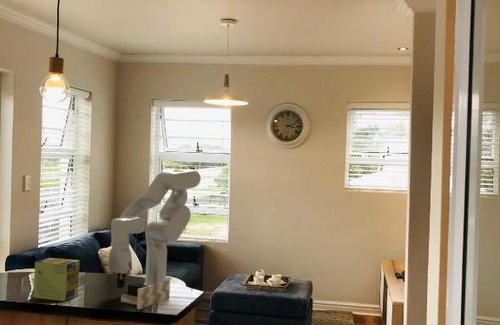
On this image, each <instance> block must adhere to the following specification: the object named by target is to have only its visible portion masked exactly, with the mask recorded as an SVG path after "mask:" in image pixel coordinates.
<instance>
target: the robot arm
mask: <svg viewBox="0 0 500 325" xmlns="http://www.w3.org/2000/svg"><path fill="white" fill-rule="evenodd" d="M200 182H201V175H200V173H199V172H198V171H197V170H194V169H182V168H181V169H179V168H178V169H174V170H173V171H161V172H159V173H158V174H156V176H155V177H154V179H153V180H152V181H151V183H150V184H149V186H148V187H147V189H146V190H145V192H144V193H143V194H142V195H140V196H139V197H137V198H136V199H135V200H134V201H132V202H130V203H129V204H128V206H126V208H125V209H124V211H122V213H121V214H120V217H116V218H113V219H112V220H111V222H110V224H111V228H110V230H111V242H110V246H111V248H110V250H109V253H108V264H107V266H108V267H107V268H108V271H109V272H110V273H111V274H113V275H114V277H115V279H116V288H118V289H122V288H125V287H126V286H125V284H126V283H125V282H126V279H125V278H127V277H128V276H132V270H133V259H132V252H131V249H130V234H141V233H143V232H144V233H145V234H144V235H145V241H146V259H145V260H146V261H145V283H144V284H143V283H142V284H143V285H148V286H149V285H152V284H155V283H158V282H161V281H164V280H167V279H169V280H170V281H171V279H172V278H171V276H167V261H168V260H167V259H168V248H167V244H169V245H171V244H175V243H176V242H177V241H178V240H179V238H180V237H181V235H182V233H183V232H184V230H185V229H186V227H187V225H188V224H189V222H190V220H191V210H190V208H189V206H187V205H186V203H187V201H188V199H189V198H188V191H187V190H188V189H189V190H190V189H193V188H195V187H196V188H197V187H198V186H199V184H200ZM168 191H171V193H170V195H169V196H168V199H167V200H166V201H165V202H164V204H163V206H162V207H161V209H160V211H159V218H160V220H154V221H150V222H149V223H147V220H146V219H145V218H144V217H142V216H140V214H142V213H143V212H145V211H147V210H150V209H153V208H155V207H158V206H159V205H160V203H162V201H163V199H164V198H165V196H166V194H167V193H168Z"/></svg>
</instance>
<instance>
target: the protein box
mask: <svg viewBox="0 0 500 325" xmlns="http://www.w3.org/2000/svg"><path fill="white" fill-rule="evenodd" d="M33 279H34V280H33V281H34V282H33V296H32V297H33V299H42V300H43V299H44V300H51V301H52V300H53V301H60V302H61V301H62V302H66V301H68V300H71V299H73V298H76V297H77V296H79V280H80V260H79V259H67V258H54V257H53V258H52V257H48V258H44V259H40V260H36V261H35V262H34V278H33Z"/></svg>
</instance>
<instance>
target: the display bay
mask: <svg viewBox="0 0 500 325" xmlns="http://www.w3.org/2000/svg"><path fill="white" fill-rule="evenodd" d="M170 289H171V280H169V279H167V280H164V281H161V282H158V283H155V284H152V285H149V286H146V287H143V288H140V289H138V297H136V296H131V295H128V294H125V293H122V294H120V302H121V303H126V304H129V305H136V309H137V310H141V309H144V308H146V307H149V306H152V305H154V304H157V303H159V302H162V301H164V300H167V299H170V292H171V290H170Z"/></svg>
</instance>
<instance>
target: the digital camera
mask: <svg viewBox="0 0 500 325" xmlns="http://www.w3.org/2000/svg"><path fill="white" fill-rule="evenodd" d="M146 286H148V285H143V283H138V282H137V283H136V282H133V283H128V284H127V295H131V296H136V297H138V289H140V288H143V287H146Z"/></svg>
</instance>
